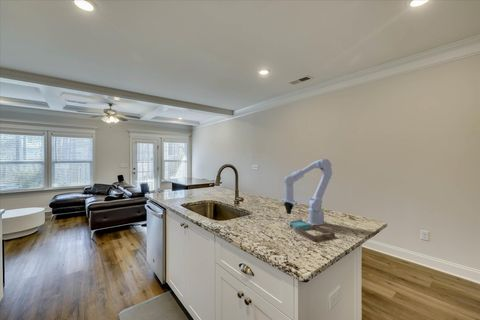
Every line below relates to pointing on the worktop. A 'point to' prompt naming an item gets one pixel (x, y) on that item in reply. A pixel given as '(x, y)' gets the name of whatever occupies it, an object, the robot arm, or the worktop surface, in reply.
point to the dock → (326, 235)
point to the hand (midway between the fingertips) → (288, 213)
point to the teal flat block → (299, 224)
